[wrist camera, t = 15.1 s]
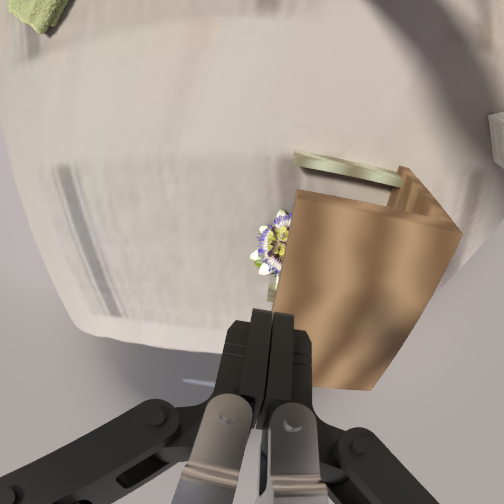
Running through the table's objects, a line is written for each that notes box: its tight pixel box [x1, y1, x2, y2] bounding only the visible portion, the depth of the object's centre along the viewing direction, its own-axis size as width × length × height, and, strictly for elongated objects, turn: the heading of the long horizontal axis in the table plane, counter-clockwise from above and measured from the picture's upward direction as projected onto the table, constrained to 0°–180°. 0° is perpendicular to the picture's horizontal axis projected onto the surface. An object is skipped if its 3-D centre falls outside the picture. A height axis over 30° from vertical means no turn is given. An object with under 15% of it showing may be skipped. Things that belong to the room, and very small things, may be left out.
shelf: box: [267, 151, 463, 391], centre depth 39 cm, size 16×25×17 cm, turn 173°
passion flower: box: [250, 209, 292, 289], centre depth 44 cm, size 11×11×12 cm
